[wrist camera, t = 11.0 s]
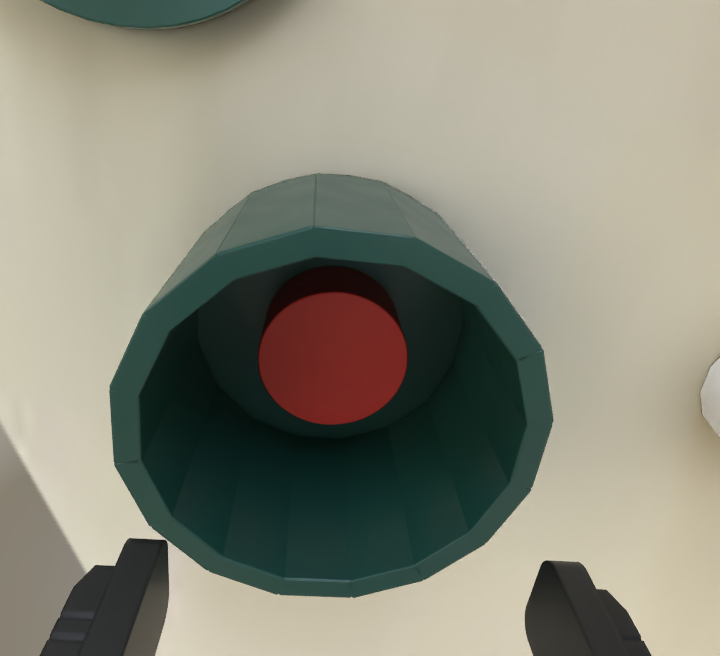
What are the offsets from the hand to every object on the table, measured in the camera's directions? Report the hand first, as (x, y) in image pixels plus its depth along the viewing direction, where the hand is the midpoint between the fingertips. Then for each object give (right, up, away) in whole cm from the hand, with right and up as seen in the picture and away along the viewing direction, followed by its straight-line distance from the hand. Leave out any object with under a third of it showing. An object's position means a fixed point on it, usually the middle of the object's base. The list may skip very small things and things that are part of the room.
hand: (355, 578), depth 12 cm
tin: (-1, +5, +12) cm, 13 cm away
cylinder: (-1, +5, +11) cm, 13 cm away
